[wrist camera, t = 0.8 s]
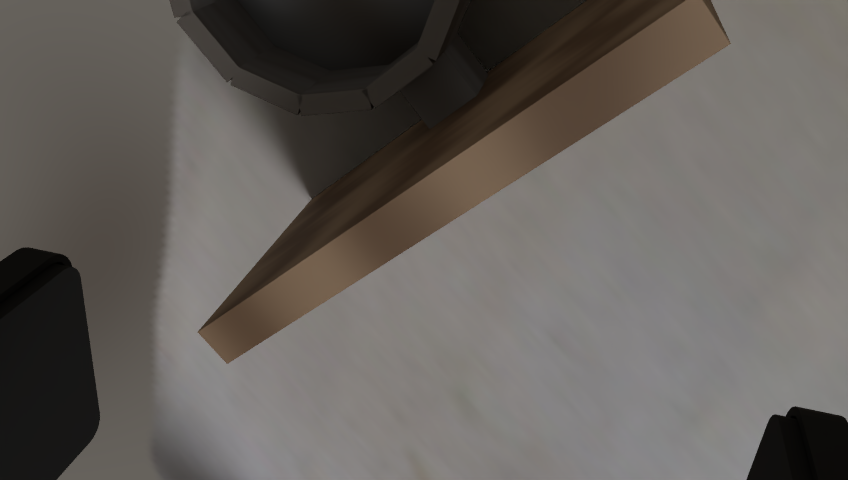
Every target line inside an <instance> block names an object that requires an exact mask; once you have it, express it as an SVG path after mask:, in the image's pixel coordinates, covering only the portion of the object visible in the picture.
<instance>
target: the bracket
mask: <svg viewBox="0 0 848 480" xmlns="http://www.w3.org/2000/svg"><path fill="white" fill-rule="evenodd" d="M470 1H471V0H170V4H171V7H172V11H173V15H174V17H181V18H180V19H179V20H178V21H177V23H178V24H179V25H180V27H181V28H182V29H183V30H184V31H185V33H186V34H187V35H188V36H189V37H190V39H191V40H192V41H193V42H194V43H195V44H196V46H197V47H198V48H199V49H200V50H201V52H202V53H203V54H204V55H205V56H206V58H207V59H208V60H209V61H210V62H211V64H212V65H213V66H214V67H215V68H216V70H217V71H218V72H219V73H220V74H221V76H222V77H223V78H224V79H225V80H226V82H228V81H230V80H231V79H232V81H231V85H232V86H234V87H236V88H239V89H241V90H243V91H245V92H247V93H250V94H252V95H254V96H256V97H258V98H261V99H263V100H265V101H267V102H269V103H272V104H274V105H276V106H278V107H281V108H283V109H285V110H287V111H289V112H292V113H294V114H296V115H298V114H299V113H300V112H301V116H306V115H317V114H329V113H340V112H352V111H363V110H372V109H373V107H375V108H376V107H378V106H379V105H380V104H382V103H383V102H384V101H386V100H387V99H388V98H390V97H391V96H392V95H394V94H395V93H396V92H398V91H399V90H400V92H401V93H402V94H403V95H404V97H405V98H406V99H407V101H408V102H409V103H410V104H411V106H412V107H413V108H414V110H415V111H416V112H417V114H418V115H419V116H420V117H421V119H422V120H421V121H419V122H418V123H417V124H415V125H414V126H412V127H411V128H410V129H408V130H407V131H406V132H404V133H403V134H401V135H400V136H399V137H397V138H396V139H394V140H393V141H392V142H390V143H389V144H388V145H386V146H385V147H383V148H382V149H381V150H379V151H378V152H377V153H375V154H374V155H372V156H371V157H370V158H368V159H367V160H365V161H364V162H363V163H361V164H360V165H359V166H357V167H356V168H354V169H353V170H352V171H350V172H349V173H347V174H346V175H345V176H343V177H342V178H341V179H339V180H338V181H336V182H335V183H334V184H332V185H331V186H329V187H328V188H327V189H325V190H324V191H323V192H321V193H320V194H318V195H317V196H316V197H314V198H313V199H312V200H311V201H310V202H309V203H308V204H307V205H306V206H305V208H304V209H303V210H302V211H301V212H300V213H299V215H298V216H297V217H296V218H295V219H294V220H293V222H292V223H291V224H290V225H289V226H288V227H287V229H286V230H285V231H284V232H283V233H282V234H281V236H280V237H279V238H278V239H277V240H276V241H275V243H274V244H273V245H272V246H271V247H270V248H269V250H268V251H267V252H266V253H265V254H264V255H263V257H262V258H261V259H260V260H259V261H258V262H257V264H256V265H255V266H254V267H253V268H252V269H251V271H250V272H249V273H248V274H247V275H246V276H245V278H244V279H243V280H242V281H241V282H240V283H239V285H238V286H237V287H236V288H235V289H234V290H233V292H232V293H231V294H230V295H229V296H228V297H227V298H226V300H225V301H224V302H223V303H222V304H221V305H220V307H219V308H218V309H217V310H216V311H215V312H214V314H213V315H212V316H211V317H210V318H209V319H208V321H207V322H206V323H205V324H204V325H203V326H202V328H201V329H200V330H199V331H198V333H199V334H200V335H201V336H202V337H203V338H204V339H205V341H206V342H207V343H208V344H209V345H210V346H211V347H212V348H213V349H214V350H215V351H216V352H217V353H218V355H219V356H220V357H221V358H222V359H223V360H224V361H225V362H226V363H227V364H228V363H229V362H231V361H232V360H234V359H236V358H237V357H239V356H240V355H242V354H243V353H245V352H247V351H248V350H250V349H251V348H253V347H254V346H256V345H258V344H259V343H261V342H262V341H264V340H265V339H267V338H269V337H270V336H272V335H273V334H275V333H276V332H278V331H280V330H281V329H283V328H284V327H286V326H287V325H289V324H291V323H292V322H294V321H295V320H297V319H298V318H300V317H302V316H303V315H305V314H306V313H308V312H309V311H311V310H313V309H314V308H316V307H317V306H319V305H320V304H322V303H324V302H325V301H327V300H328V299H330V298H331V297H333V296H335V295H336V294H338V293H339V292H341V291H343V290H344V289H346V288H347V287H349V286H350V285H352V284H354V283H355V282H357V281H358V280H360V279H361V278H363V277H365V276H366V275H368V274H369V273H371V272H372V271H374V270H376V269H377V268H379V267H380V266H382V265H383V264H385V263H387V262H388V261H390V260H391V259H393V258H394V257H396V256H398V255H399V254H401V253H402V252H404V251H405V250H407V249H409V248H410V247H412V246H413V245H415V244H416V243H418V242H420V241H421V240H423V239H424V238H426V237H427V236H429V235H431V234H432V233H434V232H435V231H437V230H438V229H440V228H442V227H443V226H445V225H446V224H448V223H449V222H451V221H453V220H454V219H456V218H457V217H459V216H460V215H462V214H464V213H465V212H467V211H468V210H470V209H471V208H473V207H475V206H476V205H478V204H479V203H481V202H482V201H484V200H486V199H487V198H489V197H490V196H492V195H493V194H495V193H497V192H498V191H500V190H501V189H503V188H505V187H506V186H508V185H509V184H511V183H512V182H514V181H516V180H517V179H519V178H520V177H522V176H523V175H525V174H527V173H528V172H530V171H531V170H533V169H534V168H536V167H538V166H539V165H541V164H542V163H544V162H545V161H547V160H549V159H550V158H552V157H553V156H555V155H556V154H558V153H560V152H561V151H563V150H564V149H566V148H567V147H569V146H571V145H572V144H574V143H575V142H577V141H578V140H580V139H582V138H583V137H585V136H586V135H588V134H589V133H591V132H593V131H594V130H596V129H597V128H599V127H600V126H602V125H604V124H605V123H607V122H608V121H610V120H611V119H613V118H615V117H616V116H618V115H619V114H621V113H622V112H624V111H626V110H627V109H629V108H630V107H632V106H633V105H635V104H637V103H638V102H640V101H641V100H643V99H644V98H646V97H648V96H649V95H651V94H652V93H654V92H655V91H657V90H659V89H660V88H662V87H663V86H665V85H667V84H668V83H670V82H671V81H673V80H674V79H676V78H678V77H679V76H681V75H682V74H684V73H685V72H687V71H689V70H690V69H692V68H693V67H695V66H696V65H698V64H700V63H701V62H703V61H704V60H706V59H707V58H709V57H711V56H712V55H714V54H715V53H717V52H718V51H720V50H722V49H723V48H725V47H726V46H728V45H729V44H731V43H730V41H729V39H728V37H727V35H726V32H725V30H724V28H723V26H722V24H721V22H720V20H719V17H718V15H717V13H716V11H715V9H714V7H713V4H712V2H711V0H587V1H585V2H584V3H583V4H581V5H580V6H578V7H577V8H576V9H574V10H573V11H572V12H570V13H569V14H567V15H566V16H565V17H563V18H562V19H560V20H559V21H558V22H556V23H555V24H554V25H552V26H551V27H549V28H548V29H547V30H545V31H544V32H542V33H541V34H540V35H538V36H537V37H536V38H534V39H533V40H531V41H530V42H529V43H527V44H526V45H525V46H523V47H522V48H520V49H519V50H518V51H516V52H515V53H513V54H512V55H511V56H509V57H508V58H507V59H505V60H504V61H502V62H501V63H500V64H498V65H497V66H495V67H494V68H493V69H491V70H490V71H489V72H486V71H485V70H484V68H483V67H482V66H481V64H480V63H479V61H478V60H477V59H476V57H475V56H474V55H473V53H472V52H471V51H470V49H469V48H468V47H467V45H466V44H465V43H464V41H463V40H462V39H461V37H460V36H459V34H458V33H457V31H458V29H459V26H460V24H461V21H462V19H463V16H464V14H465V12H466V10H467V8H468V6H469V3H470Z"/></svg>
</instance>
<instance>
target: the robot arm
mask: <svg viewBox="0 0 848 480" xmlns="http://www.w3.org/2000/svg"><path fill="white" fill-rule="evenodd" d="M99 420H100V412H99V405H98V398H97V390H96V383H95V376H94V369H93V362H92V355H91V348H90V341H89V333H88V326H87V319H86V312H85V305H84V298H83V291H82V284H81V277H80V274H79V272H78V270H77V269H75V268H73V267H72V265H71V262H70V260H69V259H68V258H67V257H66V256H64V255H62V254H57V253H53V252H48V251H43V250H38V249H33V248H21V249H19V250H16V251H15V252H13V253H12V254H11V255H9V256H8V257H6V258H5V259H3V260H2V261H0V480H57V479H58V477H59V476H60V475H61V474H62V473H63V472H64V470H66V468H67V467H68V466H69V465H70V464H71V463H72V462H73V460H74V459H75V458H76V457H77V456H78V455H79V454H80V453H81V452H82V450H83V449H84V448H85V447H86V446H87V445H88V444H89V443H90V441H91V440H92V439H93V437H94V435H95V433H96V431H97V429H98V425H99ZM747 480H848V422H847V420H846V418H844V417H842V416H839V415H834V414H829V413H825V412H820V411H815V410H810V409H805V408H800V407H796V406H795V407H792V408H791V409H790V410H789V411H788V413H787V415H786V417H785V416H780V415H772V417H771V418H770V419H769V422H768V424H767V426H766V429H765V432H764V434H763V437H762V440H761V442H760V445H759V448H758V451H757V453H756V456H755V459H754V461H753V464H752V467H751V469H750V472H749V475H748V477H747Z"/></svg>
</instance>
